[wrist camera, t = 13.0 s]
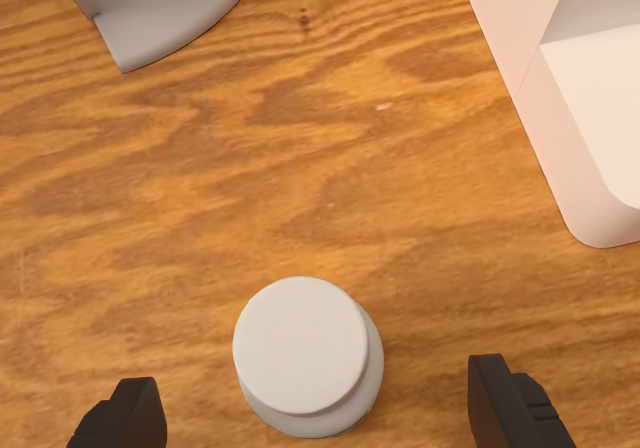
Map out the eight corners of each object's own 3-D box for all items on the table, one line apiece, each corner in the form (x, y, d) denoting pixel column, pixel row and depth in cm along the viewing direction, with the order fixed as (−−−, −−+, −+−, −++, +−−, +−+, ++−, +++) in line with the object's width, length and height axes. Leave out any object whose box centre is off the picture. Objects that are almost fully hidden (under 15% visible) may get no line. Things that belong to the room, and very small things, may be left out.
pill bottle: (255, 432, 20) (196, 425, 13) (273, 315, 21) (229, 250, 14) (374, 447, 19) (383, 448, 12) (383, 326, 21) (395, 265, 14)
